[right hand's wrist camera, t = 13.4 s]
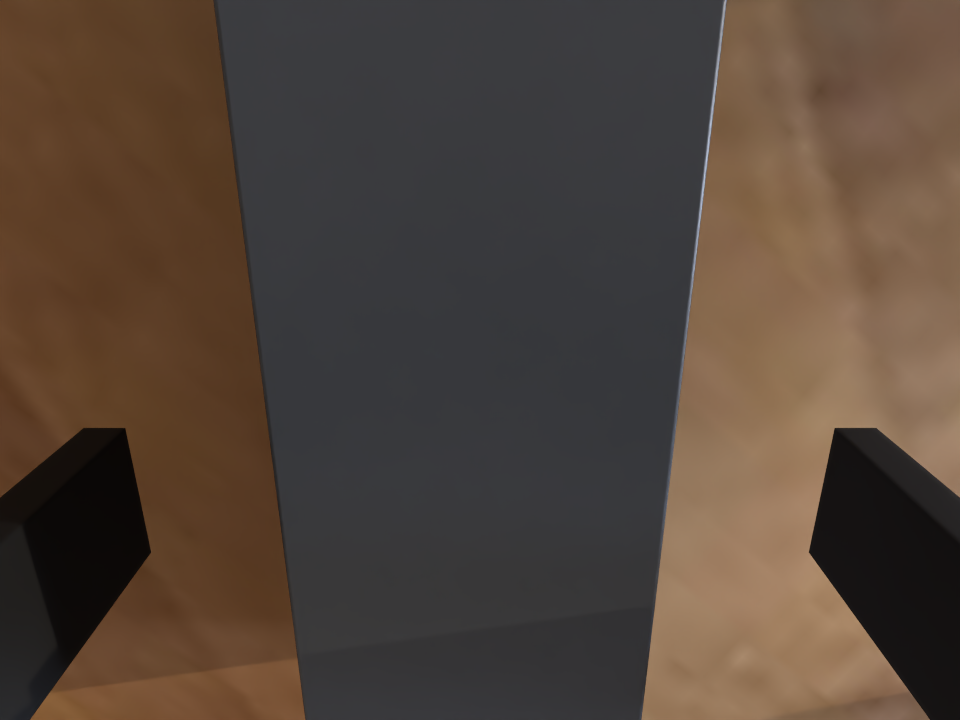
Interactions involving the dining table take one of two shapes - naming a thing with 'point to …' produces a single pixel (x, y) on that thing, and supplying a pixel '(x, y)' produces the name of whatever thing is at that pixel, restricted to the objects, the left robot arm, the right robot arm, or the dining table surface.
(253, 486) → the dining table surface
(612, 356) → the board
